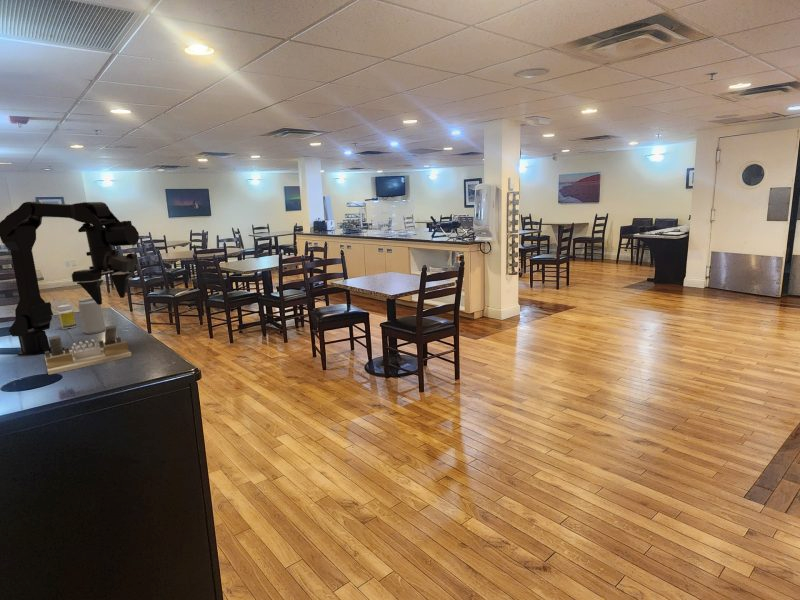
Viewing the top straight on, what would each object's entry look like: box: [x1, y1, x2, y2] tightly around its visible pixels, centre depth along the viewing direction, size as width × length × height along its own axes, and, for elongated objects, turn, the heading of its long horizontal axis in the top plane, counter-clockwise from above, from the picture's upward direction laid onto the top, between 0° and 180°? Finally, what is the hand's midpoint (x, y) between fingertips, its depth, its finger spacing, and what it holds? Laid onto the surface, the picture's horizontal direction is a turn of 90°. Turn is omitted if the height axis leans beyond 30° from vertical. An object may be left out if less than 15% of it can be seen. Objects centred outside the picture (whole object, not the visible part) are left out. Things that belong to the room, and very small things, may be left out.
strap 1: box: [48, 334, 64, 356], centre depth 131 cm, size 12×3×1 cm
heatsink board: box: [43, 336, 132, 376], centre depth 135 cm, size 20×19×4 cm
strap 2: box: [103, 324, 117, 345], centre depth 139 cm, size 12×3×1 cm
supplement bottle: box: [57, 304, 77, 330], centre depth 175 cm, size 5×5×8 cm
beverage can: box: [77, 296, 106, 335], centre depth 165 cm, size 6×6×12 cm
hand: (111, 301), depth 138 cm, fingers open, 9 cm apart
